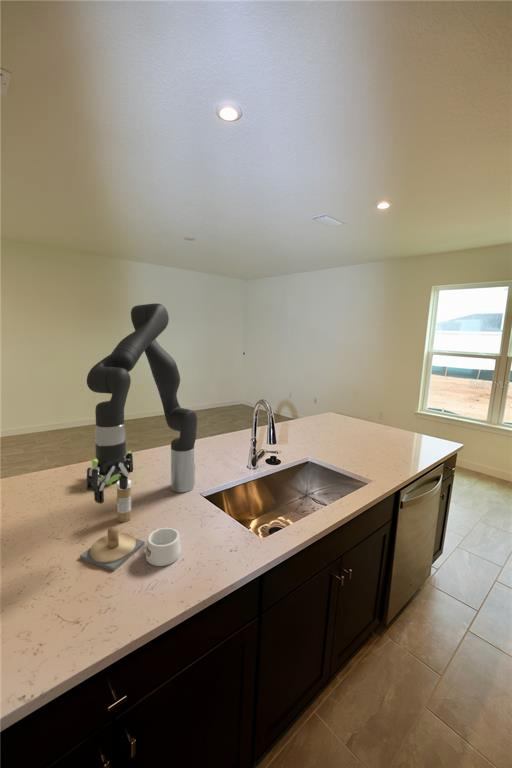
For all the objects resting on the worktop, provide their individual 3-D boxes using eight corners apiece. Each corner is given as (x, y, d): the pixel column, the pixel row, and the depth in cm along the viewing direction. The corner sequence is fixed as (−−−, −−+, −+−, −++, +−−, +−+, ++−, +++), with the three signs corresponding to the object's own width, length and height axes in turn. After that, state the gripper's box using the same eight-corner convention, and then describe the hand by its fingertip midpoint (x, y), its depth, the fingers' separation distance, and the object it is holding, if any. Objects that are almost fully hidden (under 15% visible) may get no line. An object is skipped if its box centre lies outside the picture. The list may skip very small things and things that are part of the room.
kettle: (131, 471, 144) (131, 448, 142) (128, 486, 130) (128, 460, 129) (95, 474, 140) (94, 449, 138) (88, 489, 126) (87, 462, 124)
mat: (113, 534, 99) (113, 531, 99) (144, 544, 95) (144, 541, 95) (80, 558, 88) (79, 555, 88) (113, 571, 84) (113, 568, 84)
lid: (113, 531, 99) (112, 514, 98) (144, 541, 95) (144, 523, 94) (79, 555, 88) (79, 536, 87) (113, 568, 84) (113, 548, 83)
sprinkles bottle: (119, 515, 110) (118, 478, 108) (133, 514, 110) (132, 478, 108) (115, 522, 105) (114, 484, 103) (129, 522, 106) (128, 484, 104)
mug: (186, 558, 90) (186, 539, 89) (153, 573, 84) (153, 552, 83) (169, 536, 100) (169, 518, 99) (138, 548, 93) (137, 529, 93)
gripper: (119, 431, 95) (120, 482, 97) (77, 445, 81) (80, 504, 84) (139, 434, 92) (140, 487, 94) (100, 450, 79) (101, 511, 81)
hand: (112, 495), depth 89 cm, fingers open, 8 cm apart
